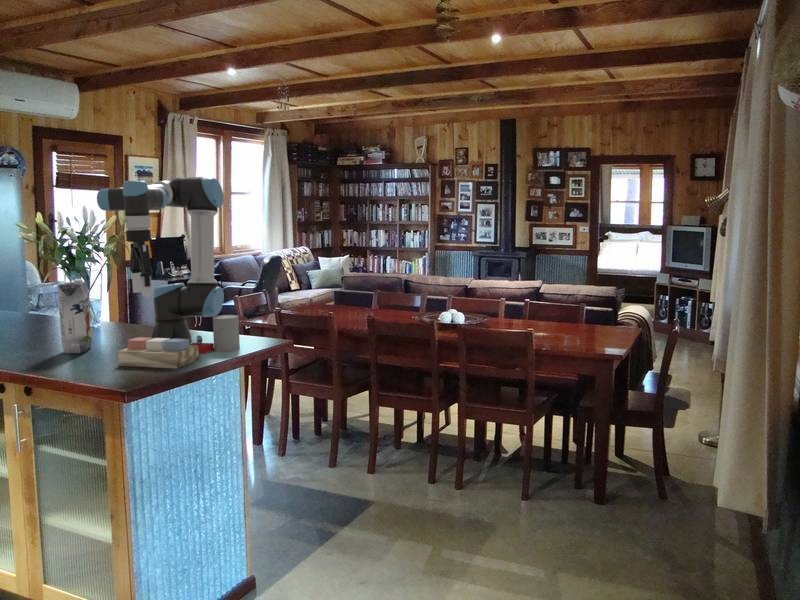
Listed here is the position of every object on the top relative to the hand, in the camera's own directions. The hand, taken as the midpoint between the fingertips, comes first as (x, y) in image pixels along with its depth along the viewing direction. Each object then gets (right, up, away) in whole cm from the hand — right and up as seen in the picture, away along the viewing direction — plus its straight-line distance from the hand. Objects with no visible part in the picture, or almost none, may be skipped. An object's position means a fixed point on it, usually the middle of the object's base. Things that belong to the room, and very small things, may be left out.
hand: (142, 294), depth 230 cm
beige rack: (+1, -23, +12) cm, 26 cm away
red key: (-6, -18, +13) cm, 23 cm away
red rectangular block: (+10, -21, +31) cm, 39 cm away
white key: (+1, -18, +12) cm, 22 cm away
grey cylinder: (+19, -20, +35) cm, 45 cm away
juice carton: (-37, -21, +34) cm, 54 cm away
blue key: (+8, -18, +10) cm, 23 cm away
